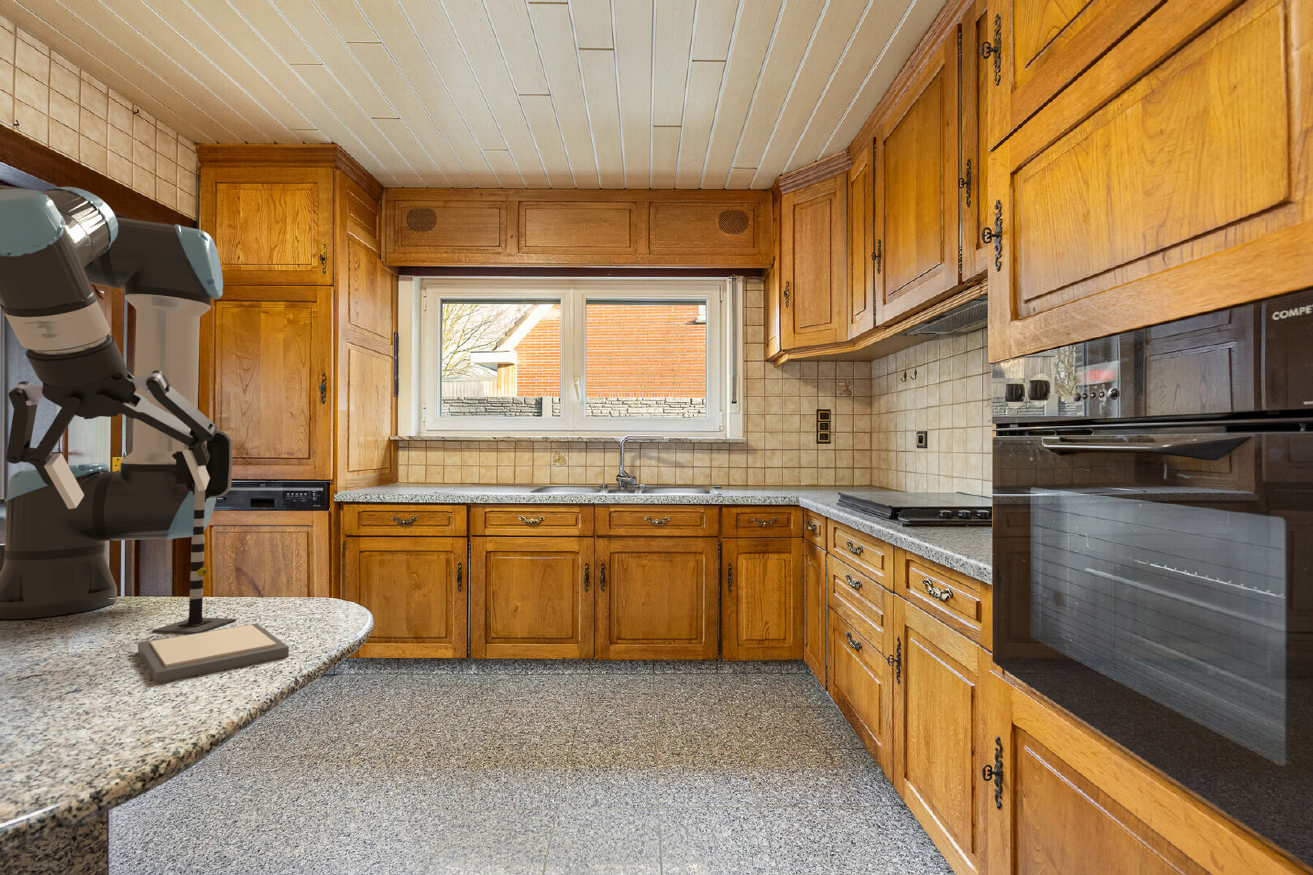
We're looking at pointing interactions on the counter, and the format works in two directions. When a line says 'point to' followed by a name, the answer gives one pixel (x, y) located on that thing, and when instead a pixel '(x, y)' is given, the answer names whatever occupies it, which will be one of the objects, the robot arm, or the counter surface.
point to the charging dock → (209, 652)
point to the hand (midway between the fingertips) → (142, 493)
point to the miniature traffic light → (202, 527)
